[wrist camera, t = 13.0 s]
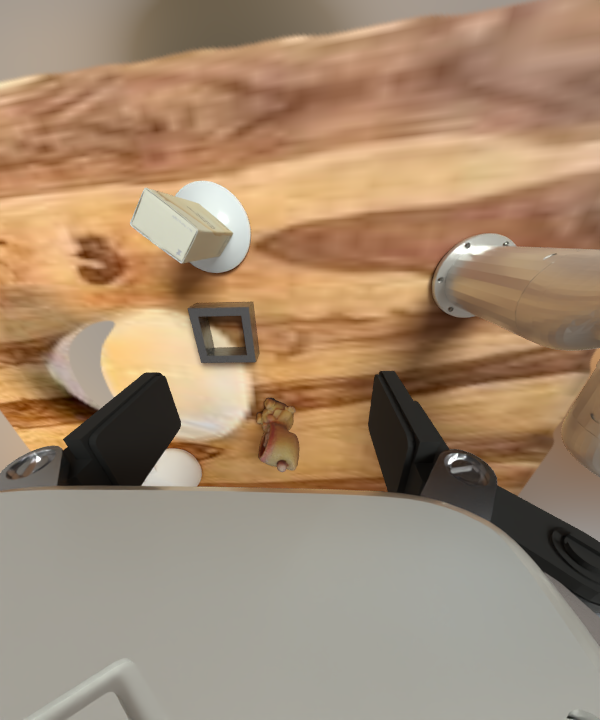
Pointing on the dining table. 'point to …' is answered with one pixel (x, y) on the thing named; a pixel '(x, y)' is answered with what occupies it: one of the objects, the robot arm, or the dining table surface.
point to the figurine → (278, 436)
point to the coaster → (227, 213)
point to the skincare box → (180, 227)
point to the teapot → (175, 470)
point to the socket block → (204, 336)
